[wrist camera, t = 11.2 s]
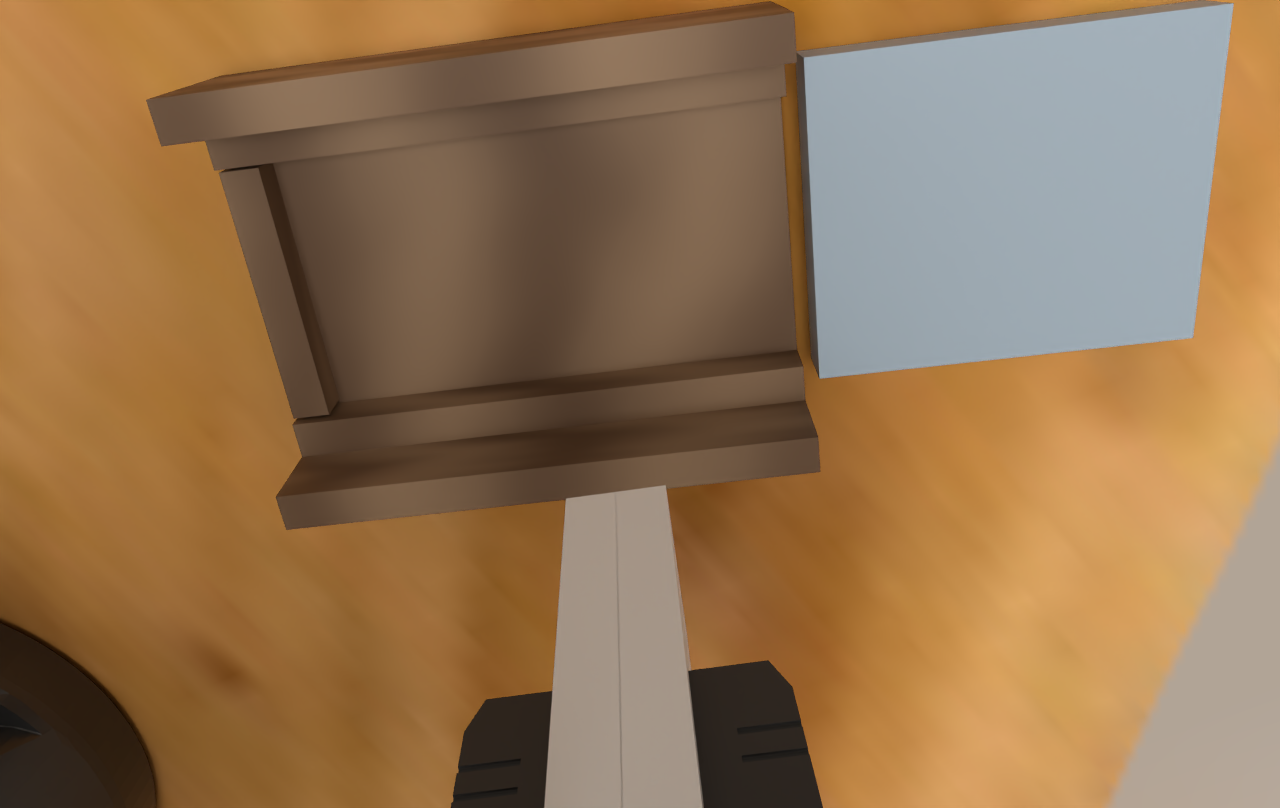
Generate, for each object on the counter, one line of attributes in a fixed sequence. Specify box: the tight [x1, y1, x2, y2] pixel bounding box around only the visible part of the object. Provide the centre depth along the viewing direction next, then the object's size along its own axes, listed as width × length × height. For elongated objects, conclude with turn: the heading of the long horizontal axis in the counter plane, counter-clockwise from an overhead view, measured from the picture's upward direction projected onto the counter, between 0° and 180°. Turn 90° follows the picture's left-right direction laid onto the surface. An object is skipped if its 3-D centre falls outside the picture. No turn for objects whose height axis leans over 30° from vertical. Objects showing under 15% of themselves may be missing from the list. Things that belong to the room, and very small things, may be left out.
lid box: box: [146, 1, 820, 530], centre depth 25 cm, size 14×11×4 cm
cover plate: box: [796, 0, 1234, 379], centre depth 26 cm, size 10×8×2 cm
